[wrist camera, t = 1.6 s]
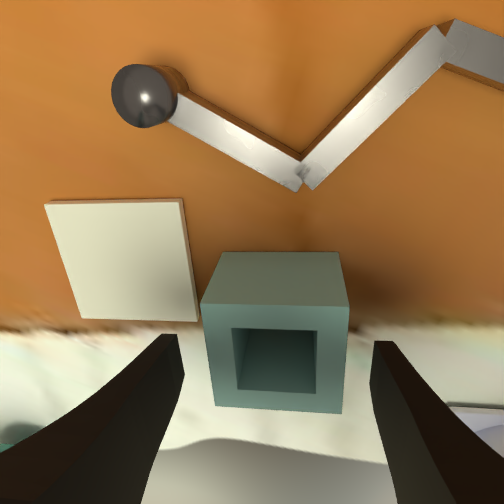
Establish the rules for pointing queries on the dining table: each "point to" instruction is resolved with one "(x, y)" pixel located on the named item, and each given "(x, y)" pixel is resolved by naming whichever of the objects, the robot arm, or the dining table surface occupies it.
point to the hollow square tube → (277, 331)
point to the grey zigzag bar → (338, 131)
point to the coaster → (127, 258)
